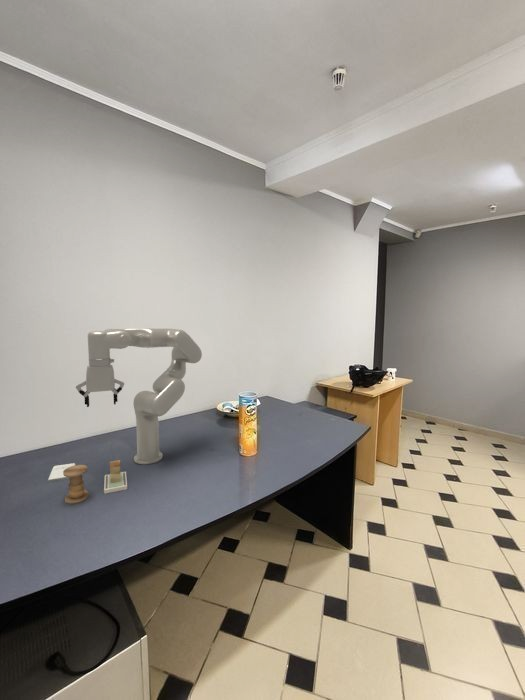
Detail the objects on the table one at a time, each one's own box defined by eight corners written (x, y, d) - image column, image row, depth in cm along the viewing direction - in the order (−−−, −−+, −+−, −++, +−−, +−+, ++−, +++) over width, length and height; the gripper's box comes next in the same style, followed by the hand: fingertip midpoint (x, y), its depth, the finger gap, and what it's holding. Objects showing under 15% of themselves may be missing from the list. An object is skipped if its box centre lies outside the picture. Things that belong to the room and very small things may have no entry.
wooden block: (110, 478, 132) (109, 461, 131) (120, 476, 134) (120, 460, 133) (110, 483, 129) (109, 465, 128) (120, 481, 130) (120, 464, 130)
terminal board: (104, 478, 135) (104, 474, 135) (126, 474, 139) (125, 471, 138) (104, 493, 125) (104, 489, 124) (127, 489, 128) (127, 485, 128)
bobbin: (66, 494, 124) (64, 466, 122) (89, 490, 127) (88, 463, 125) (63, 505, 117) (61, 476, 115) (88, 500, 120) (86, 472, 119)
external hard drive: (47, 483, 132) (53, 469, 143) (71, 479, 135) (75, 466, 146) (47, 479, 132) (53, 465, 143) (71, 476, 135) (75, 462, 146)
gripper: (123, 360, 138) (124, 400, 140) (75, 362, 131) (77, 404, 133) (123, 363, 131) (125, 405, 133) (73, 365, 124) (76, 410, 126)
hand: (101, 404), depth 133 cm, fingers open, 9 cm apart
